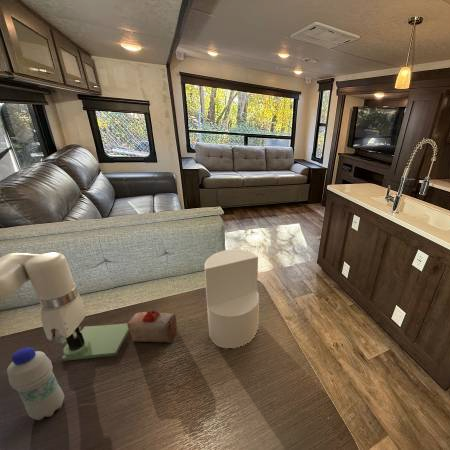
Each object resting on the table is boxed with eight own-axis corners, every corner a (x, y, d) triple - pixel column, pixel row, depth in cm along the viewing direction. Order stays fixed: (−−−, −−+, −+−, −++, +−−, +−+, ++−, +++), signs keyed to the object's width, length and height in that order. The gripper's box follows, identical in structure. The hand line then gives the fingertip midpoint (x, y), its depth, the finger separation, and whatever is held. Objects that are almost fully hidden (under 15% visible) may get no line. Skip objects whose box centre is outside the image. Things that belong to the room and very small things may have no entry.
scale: (61, 362, 72) (58, 355, 71) (85, 329, 83) (83, 322, 82) (115, 356, 75) (113, 349, 74) (132, 325, 86) (130, 319, 85)
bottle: (64, 389, 66) (40, 334, 58) (70, 407, 62) (45, 351, 54) (27, 409, 61) (-4, 351, 53) (32, 431, 57) (-2, 372, 49)
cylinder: (203, 321, 91) (198, 255, 80) (247, 306, 101) (248, 245, 90) (217, 357, 78) (213, 285, 67) (266, 336, 88) (269, 269, 77)
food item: (127, 344, 79) (121, 321, 76) (141, 325, 87) (136, 303, 83) (170, 346, 80) (167, 323, 77) (180, 327, 88) (177, 305, 84)
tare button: (68, 353, 73) (67, 349, 73) (74, 345, 76) (73, 341, 75) (80, 352, 74) (79, 348, 73) (86, 344, 77) (85, 340, 76)
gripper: (60, 280, 73) (77, 327, 80) (19, 317, 60) (44, 369, 67) (90, 279, 75) (104, 324, 82) (56, 315, 61) (76, 365, 68)
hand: (77, 344), depth 74 cm, fingers closed
